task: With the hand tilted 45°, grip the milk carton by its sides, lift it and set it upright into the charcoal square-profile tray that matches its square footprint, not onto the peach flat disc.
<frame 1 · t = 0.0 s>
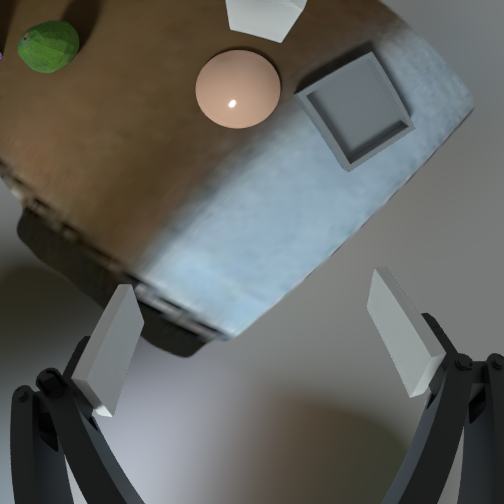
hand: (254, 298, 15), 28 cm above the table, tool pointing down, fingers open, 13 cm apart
peach flat disc: (238, 88, 34), on the table
square tray: (354, 109, 36), on the table
milk carton: (263, 15, 29), on the table
avocado: (69, 49, 29), on the table
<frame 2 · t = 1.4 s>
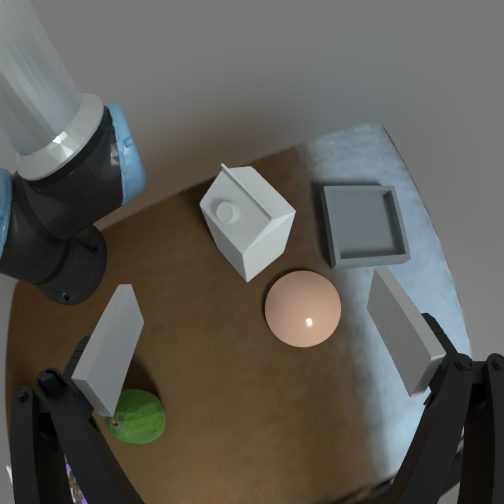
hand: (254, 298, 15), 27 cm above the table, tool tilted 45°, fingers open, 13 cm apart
peach flat disc: (302, 309, 41), on the table
square tray: (362, 228, 45), on the table
milk carton: (250, 250, 44), on the table
candy box: (79, 476, 33), on the table
avocado: (149, 408, 37), on the table
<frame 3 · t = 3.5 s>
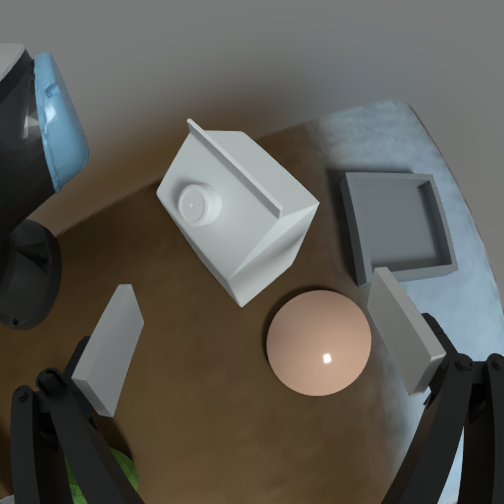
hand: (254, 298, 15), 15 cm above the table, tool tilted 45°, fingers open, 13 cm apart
peach flat disc: (319, 343, 29), on the table
square tray: (396, 229, 32), on the table
milk carton: (245, 262, 32), on the table
avocado: (119, 463, 25), on the table
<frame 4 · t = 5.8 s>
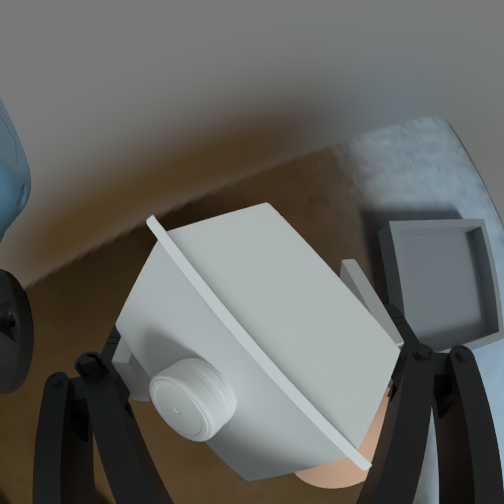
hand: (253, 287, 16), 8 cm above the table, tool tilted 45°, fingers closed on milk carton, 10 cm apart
peach flat disc: (345, 434, 21), on the table
square tray: (441, 290, 24), on the table
milk carton: (257, 341, 23), on the table, touching gripper
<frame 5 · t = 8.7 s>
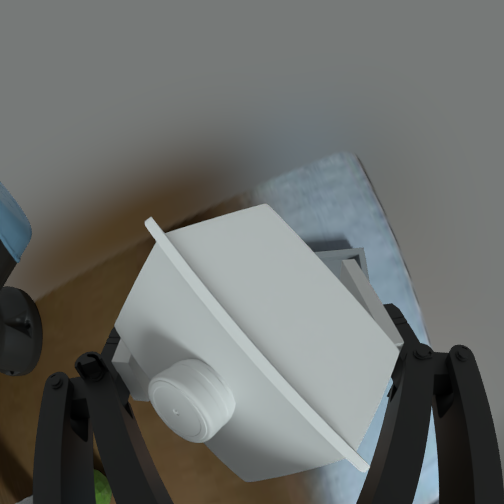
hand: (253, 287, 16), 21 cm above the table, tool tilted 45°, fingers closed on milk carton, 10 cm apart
square tray: (319, 304, 37), on the table
milk carton: (256, 341, 23), point 13 cm above the table, touching gripper
avocado: (98, 478, 29), on the table
when the fingers open (11 cm above the table, at t = 11.7 s): milk carton drops 2 cm, resting on square tray.
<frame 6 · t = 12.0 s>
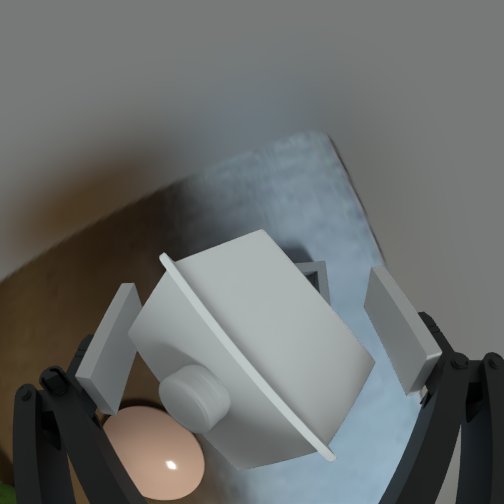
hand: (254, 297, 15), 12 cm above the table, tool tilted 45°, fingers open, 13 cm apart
peach flat disc: (151, 454, 22), on the table
square tray: (257, 340, 26), on the table
milk carton: (253, 344, 25), point 1 cm above the table, touching square tray
avocado: (25, 498, 18), on the table
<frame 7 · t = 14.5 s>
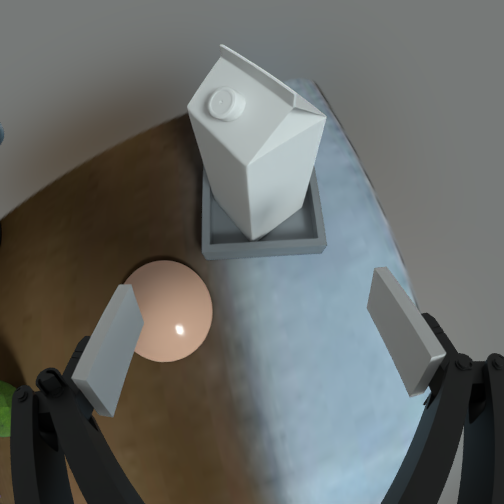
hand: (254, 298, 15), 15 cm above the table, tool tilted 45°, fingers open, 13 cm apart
peach flat disc: (163, 311, 30), on the table
square tray: (260, 204, 34), on the table
milk carton: (257, 204, 33), point 1 cm above the table, touching square tray
avocado: (22, 404, 27), on the table
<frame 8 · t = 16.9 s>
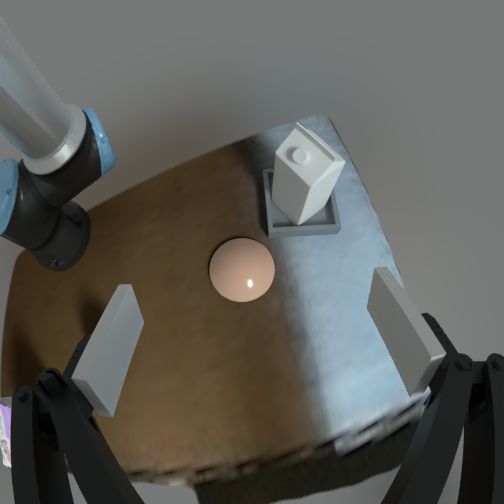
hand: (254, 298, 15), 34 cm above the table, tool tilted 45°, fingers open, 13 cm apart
peach flat disc: (242, 270, 50), on the table
square tray: (299, 203, 54), on the table
milk carton: (297, 203, 53), point 1 cm above the table, touching square tray
candy box: (57, 424, 41), on the table
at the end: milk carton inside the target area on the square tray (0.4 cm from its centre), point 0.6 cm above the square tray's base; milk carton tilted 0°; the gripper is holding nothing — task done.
